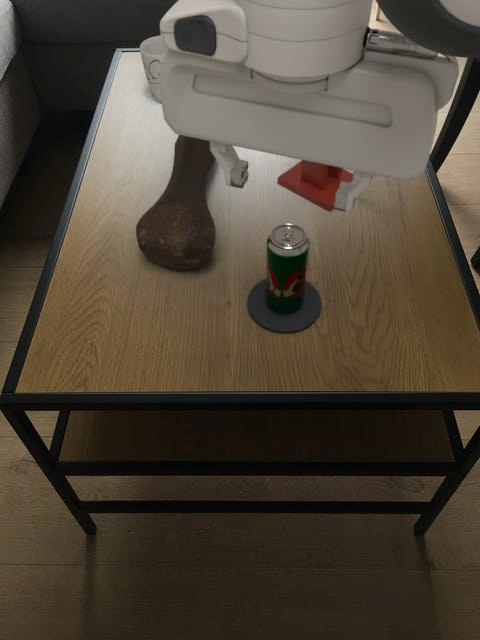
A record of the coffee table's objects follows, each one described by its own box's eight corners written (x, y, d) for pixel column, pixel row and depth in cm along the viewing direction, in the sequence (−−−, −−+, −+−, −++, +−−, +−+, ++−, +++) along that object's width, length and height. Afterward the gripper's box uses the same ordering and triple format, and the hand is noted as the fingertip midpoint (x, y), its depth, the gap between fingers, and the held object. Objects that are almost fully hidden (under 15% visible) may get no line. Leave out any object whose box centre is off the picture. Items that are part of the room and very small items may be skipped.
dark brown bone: (193, 290, 78) (211, 188, 98) (225, 238, 71) (238, 140, 91) (121, 260, 75) (156, 161, 95) (148, 203, 68) (179, 110, 88)
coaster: (324, 282, 75) (325, 279, 75) (317, 339, 69) (317, 336, 69) (254, 273, 77) (254, 270, 76) (240, 328, 71) (240, 325, 70)
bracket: (363, 185, 89) (379, 100, 77) (330, 211, 85) (341, 126, 73) (311, 159, 94) (318, 76, 82) (277, 183, 90) (280, 99, 78)
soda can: (307, 293, 73) (314, 226, 64) (297, 320, 70) (303, 254, 61) (272, 284, 75) (274, 217, 65) (260, 311, 72) (261, 245, 62)
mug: (157, 77, 113) (149, 27, 105) (196, 79, 112) (191, 29, 105) (143, 106, 106) (134, 54, 98) (185, 108, 105) (179, 56, 97)
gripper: (474, 20, 34) (421, 198, 44) (178, -17, 39) (195, 151, 49) (461, 67, 30) (407, 248, 41) (136, 19, 35) (165, 191, 46)
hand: (289, 194), depth 45 cm, fingers open, 8 cm apart
